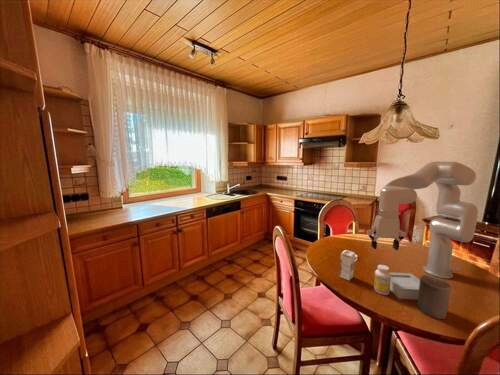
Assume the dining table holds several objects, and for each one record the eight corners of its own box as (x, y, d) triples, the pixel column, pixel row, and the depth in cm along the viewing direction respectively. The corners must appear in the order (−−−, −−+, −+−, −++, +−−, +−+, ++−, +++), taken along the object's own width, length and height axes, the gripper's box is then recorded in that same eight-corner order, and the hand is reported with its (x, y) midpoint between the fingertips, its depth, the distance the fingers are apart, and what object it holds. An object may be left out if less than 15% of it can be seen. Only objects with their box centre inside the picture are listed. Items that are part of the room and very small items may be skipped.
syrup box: (343, 272, 118) (344, 249, 116) (353, 277, 114) (355, 252, 112) (338, 277, 114) (340, 252, 112) (350, 281, 110) (351, 256, 108)
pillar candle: (412, 308, 90) (416, 276, 88) (422, 300, 95) (426, 270, 93) (441, 323, 82) (446, 288, 80) (450, 313, 87) (455, 280, 85)
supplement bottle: (374, 285, 107) (376, 262, 105) (390, 290, 102) (392, 266, 101) (372, 291, 102) (374, 267, 100) (388, 297, 97) (390, 272, 96)
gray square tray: (410, 282, 109) (411, 273, 108) (430, 300, 95) (431, 290, 94) (382, 280, 110) (383, 272, 110) (398, 298, 97) (399, 288, 96)
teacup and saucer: (355, 256, 139) (356, 250, 138) (361, 262, 131) (361, 256, 130) (342, 255, 140) (342, 250, 139) (346, 261, 132) (347, 255, 131)
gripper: (402, 212, 99) (399, 246, 101) (364, 211, 101) (362, 244, 103) (413, 216, 92) (409, 253, 94) (372, 215, 94) (369, 251, 96)
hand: (384, 248), depth 99 cm, fingers open, 9 cm apart
